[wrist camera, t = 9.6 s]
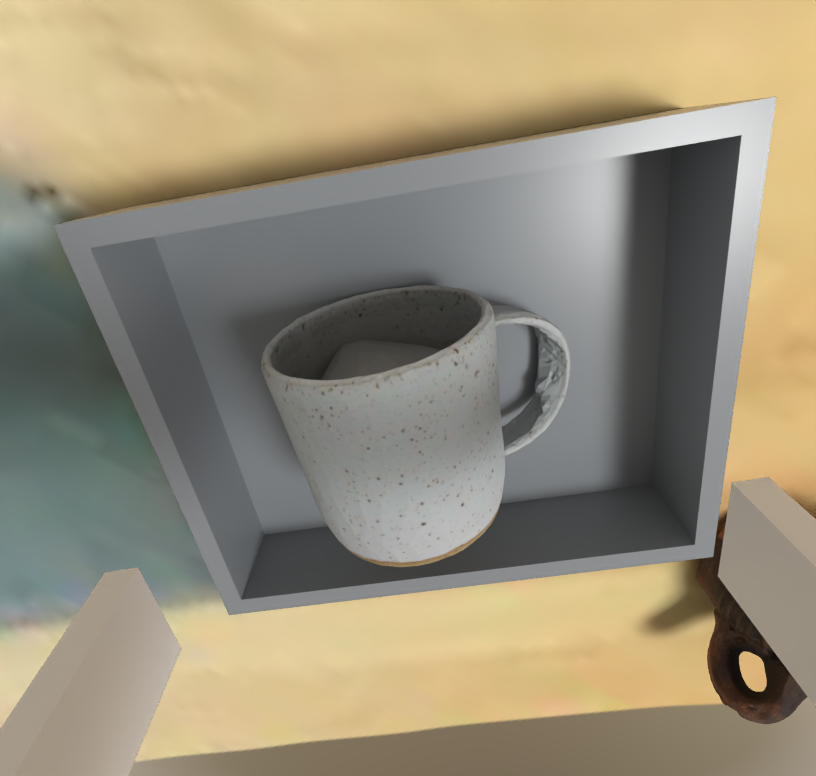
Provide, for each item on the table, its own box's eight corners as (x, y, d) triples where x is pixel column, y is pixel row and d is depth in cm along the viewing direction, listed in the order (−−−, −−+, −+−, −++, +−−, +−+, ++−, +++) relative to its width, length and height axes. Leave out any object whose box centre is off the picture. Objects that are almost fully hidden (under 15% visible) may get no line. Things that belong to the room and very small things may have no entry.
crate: (258, 534, 27) (228, 614, 22) (134, 205, 19) (52, 225, 15) (658, 482, 25) (713, 556, 21) (683, 107, 18) (776, 96, 14)
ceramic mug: (339, 474, 24) (316, 611, 17) (284, 308, 20) (226, 395, 13) (566, 430, 23) (640, 555, 16) (550, 250, 19) (637, 310, 12)
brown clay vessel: (769, 450, 25) (1000, 565, 19) (802, 488, 31) (984, 583, 25) (629, 640, 27) (801, 803, 20) (687, 640, 33) (832, 765, 27)
